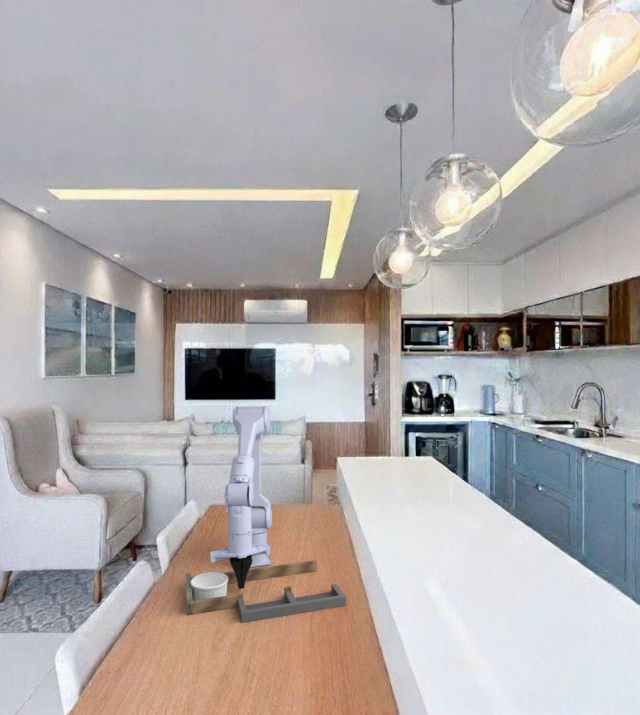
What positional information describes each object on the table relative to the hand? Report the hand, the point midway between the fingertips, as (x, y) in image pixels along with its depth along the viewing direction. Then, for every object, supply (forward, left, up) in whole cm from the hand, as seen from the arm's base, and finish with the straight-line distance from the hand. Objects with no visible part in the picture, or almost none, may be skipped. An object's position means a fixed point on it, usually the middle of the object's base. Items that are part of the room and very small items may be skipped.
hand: (241, 586), depth 122 cm
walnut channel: (+4, 0, -1) cm, 4 cm away
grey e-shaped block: (+10, -11, -1) cm, 15 cm away
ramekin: (-8, 0, -2) cm, 8 cm away
